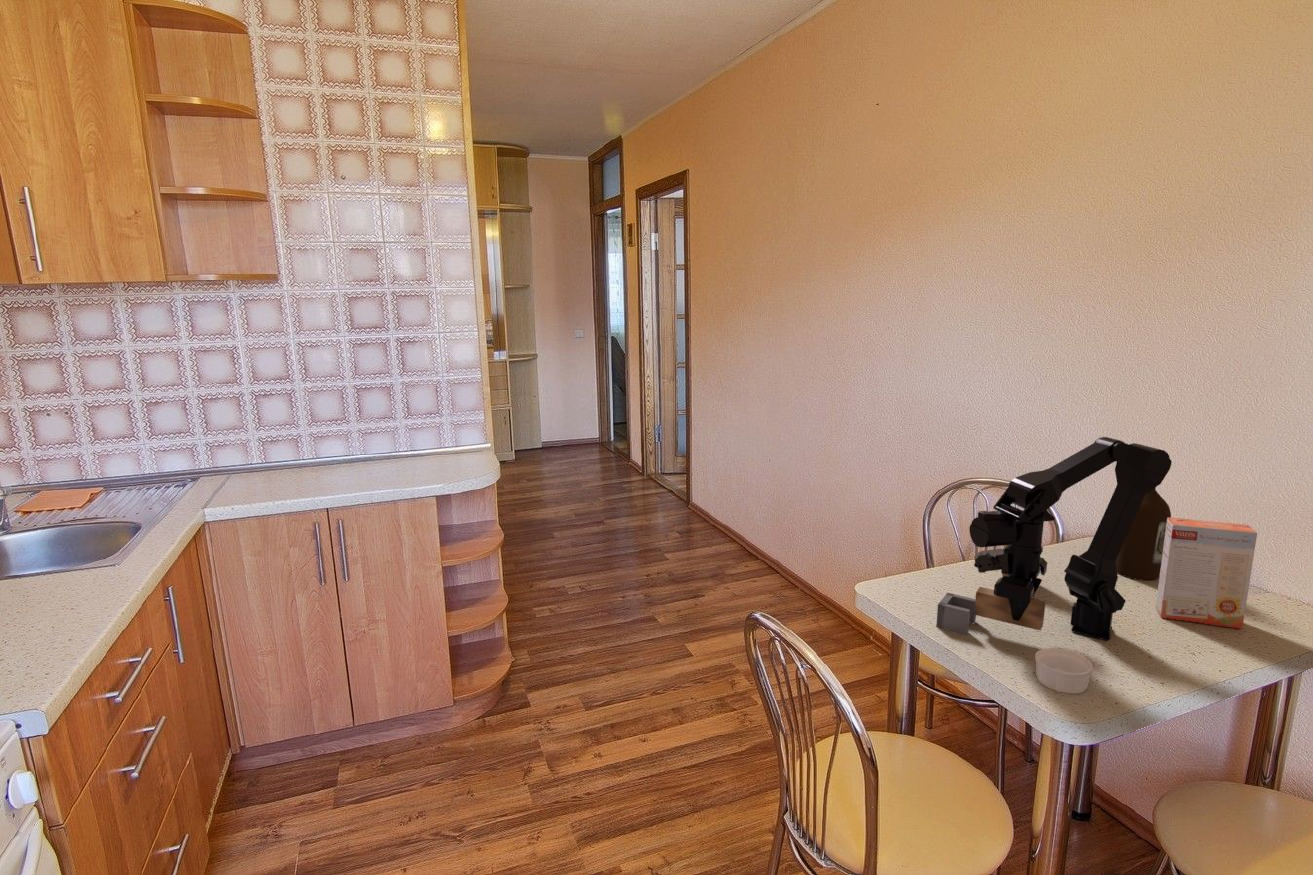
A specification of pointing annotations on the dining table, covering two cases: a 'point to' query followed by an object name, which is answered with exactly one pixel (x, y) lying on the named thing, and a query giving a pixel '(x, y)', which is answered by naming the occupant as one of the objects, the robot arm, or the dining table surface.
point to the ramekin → (1063, 670)
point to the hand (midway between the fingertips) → (1017, 616)
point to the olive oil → (1145, 540)
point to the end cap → (956, 613)
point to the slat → (1008, 609)
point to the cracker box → (1206, 571)
